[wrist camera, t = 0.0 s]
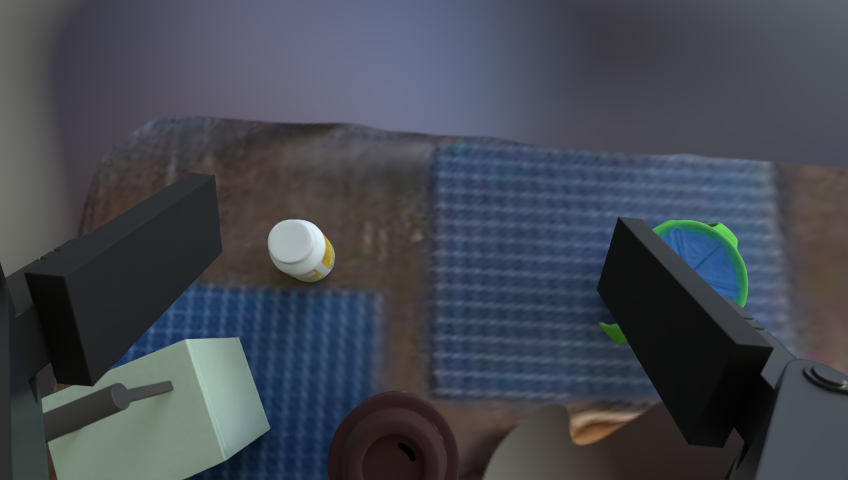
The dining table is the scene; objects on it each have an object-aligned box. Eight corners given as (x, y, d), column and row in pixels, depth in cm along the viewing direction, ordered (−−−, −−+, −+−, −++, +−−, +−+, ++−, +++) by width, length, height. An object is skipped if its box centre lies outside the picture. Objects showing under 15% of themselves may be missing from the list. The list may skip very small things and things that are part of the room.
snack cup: (658, 209, 54) (715, 182, 44) (720, 284, 52) (794, 273, 42) (553, 289, 51) (588, 279, 41) (615, 369, 50) (666, 379, 40)
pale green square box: (174, 496, 28) (127, 341, 30) (-28, 587, 27) (-66, 419, 29) (270, 428, 48) (238, 337, 49) (156, 479, 46) (127, 383, 48)
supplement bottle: (311, 292, 50) (289, 283, 41) (276, 259, 51) (246, 243, 42) (346, 255, 51) (331, 239, 42) (310, 224, 52) (289, 200, 42)
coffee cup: (359, 489, 47) (336, 561, 32) (341, 388, 49) (312, 413, 34) (455, 466, 48) (475, 526, 33) (434, 368, 49) (445, 383, 35)
